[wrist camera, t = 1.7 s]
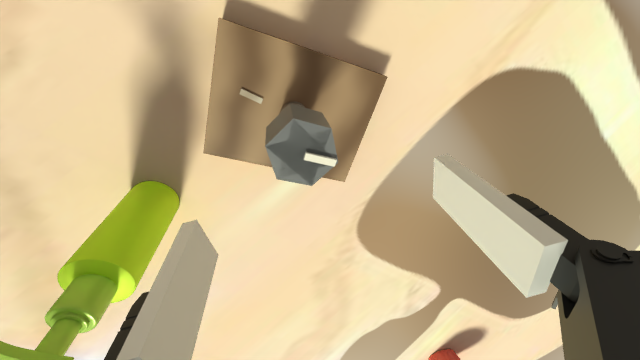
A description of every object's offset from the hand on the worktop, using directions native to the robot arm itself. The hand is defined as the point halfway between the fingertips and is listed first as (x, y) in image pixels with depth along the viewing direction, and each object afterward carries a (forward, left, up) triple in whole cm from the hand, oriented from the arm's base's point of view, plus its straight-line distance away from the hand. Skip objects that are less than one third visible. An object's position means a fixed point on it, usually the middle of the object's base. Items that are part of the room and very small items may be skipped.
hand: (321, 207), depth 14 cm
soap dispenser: (-15, -16, -20) cm, 30 cm away
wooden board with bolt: (0, 0, -20) cm, 20 cm away
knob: (0, 0, -11) cm, 11 cm away
